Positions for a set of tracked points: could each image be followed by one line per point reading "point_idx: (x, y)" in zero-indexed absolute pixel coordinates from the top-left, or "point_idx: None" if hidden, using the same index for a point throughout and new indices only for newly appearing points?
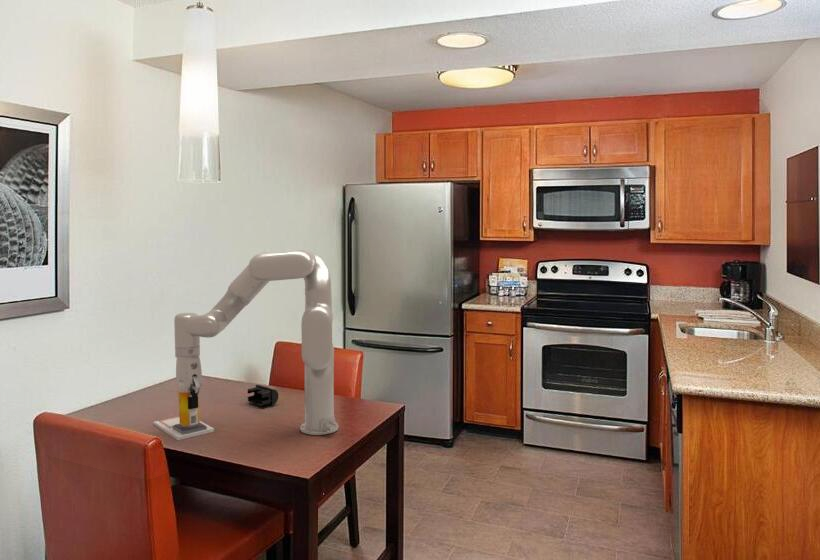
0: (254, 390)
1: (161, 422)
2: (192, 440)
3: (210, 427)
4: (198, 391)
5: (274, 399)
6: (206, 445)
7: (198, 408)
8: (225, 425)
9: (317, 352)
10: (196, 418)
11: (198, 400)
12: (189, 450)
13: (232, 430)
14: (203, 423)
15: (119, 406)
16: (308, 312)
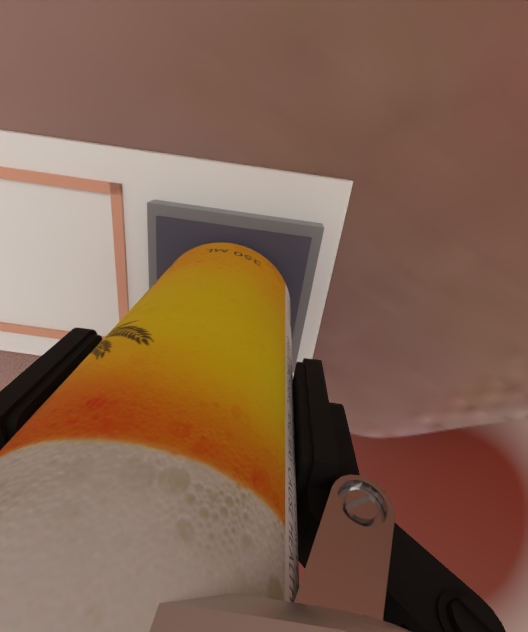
0: None
1: (17, 333)
2: (366, 342)
3: (312, 184)
4: (499, 629)
5: None
6: (493, 339)
7: (269, 312)
8: (301, 18)
9: None
10: (288, 308)
11: (254, 349)
12: (465, 414)
13: (448, 59)
14: (193, 166)
15: None
16: None
